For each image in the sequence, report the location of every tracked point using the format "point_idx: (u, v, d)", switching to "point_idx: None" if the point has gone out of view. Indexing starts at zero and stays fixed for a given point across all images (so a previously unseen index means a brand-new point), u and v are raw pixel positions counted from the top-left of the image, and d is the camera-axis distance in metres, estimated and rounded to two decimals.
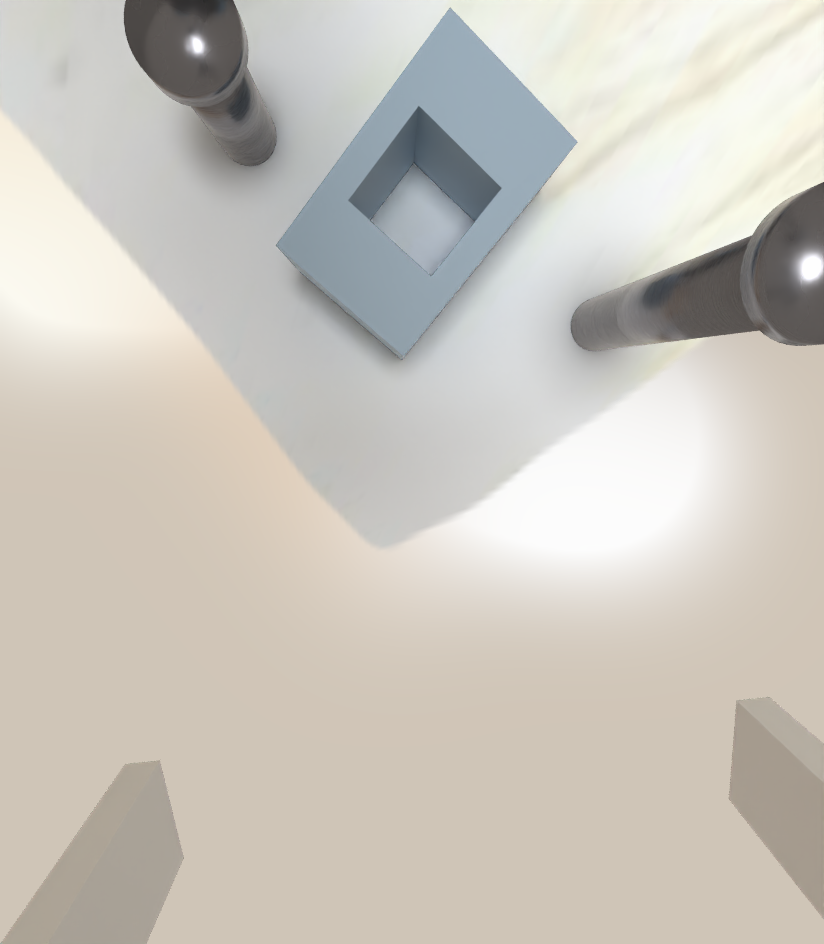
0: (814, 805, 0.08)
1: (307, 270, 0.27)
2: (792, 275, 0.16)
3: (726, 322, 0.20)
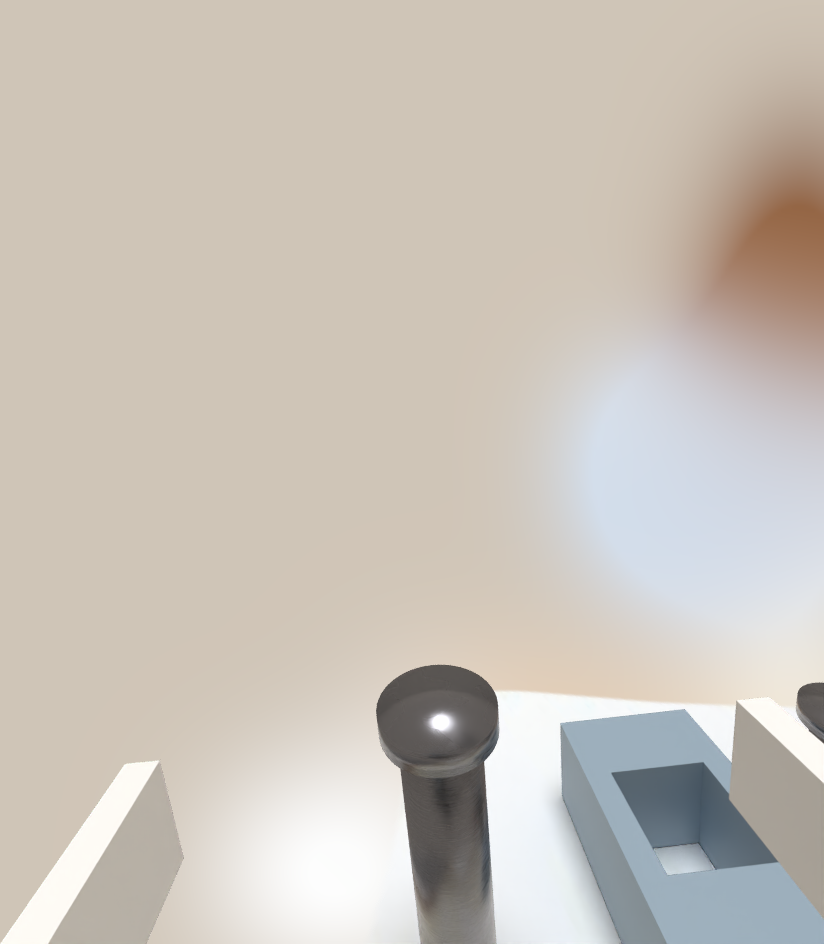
0: (814, 806, 0.08)
1: (657, 713, 0.36)
2: (454, 679, 0.22)
3: None
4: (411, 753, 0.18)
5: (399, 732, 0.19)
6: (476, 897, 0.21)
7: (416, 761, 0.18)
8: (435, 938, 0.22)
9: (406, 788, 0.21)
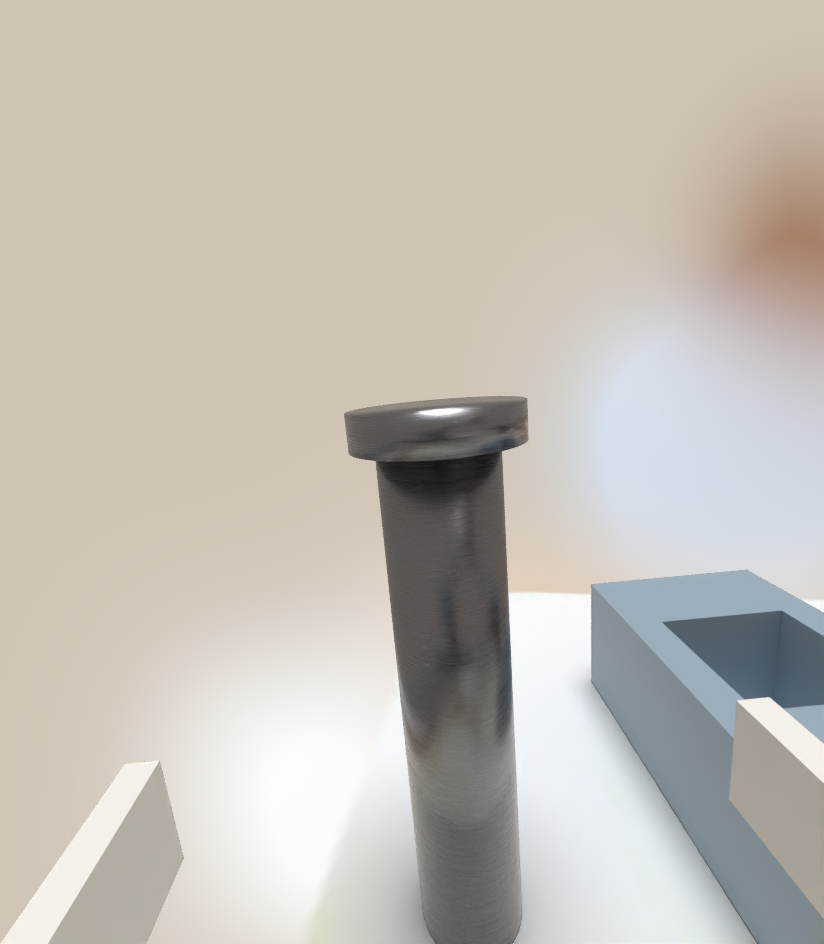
0: (814, 805, 0.08)
1: (712, 573, 0.28)
2: (461, 399, 0.15)
3: None
4: (392, 422, 0.12)
5: (376, 414, 0.12)
6: (491, 698, 0.14)
7: (400, 434, 0.12)
8: (430, 765, 0.15)
9: (388, 525, 0.14)
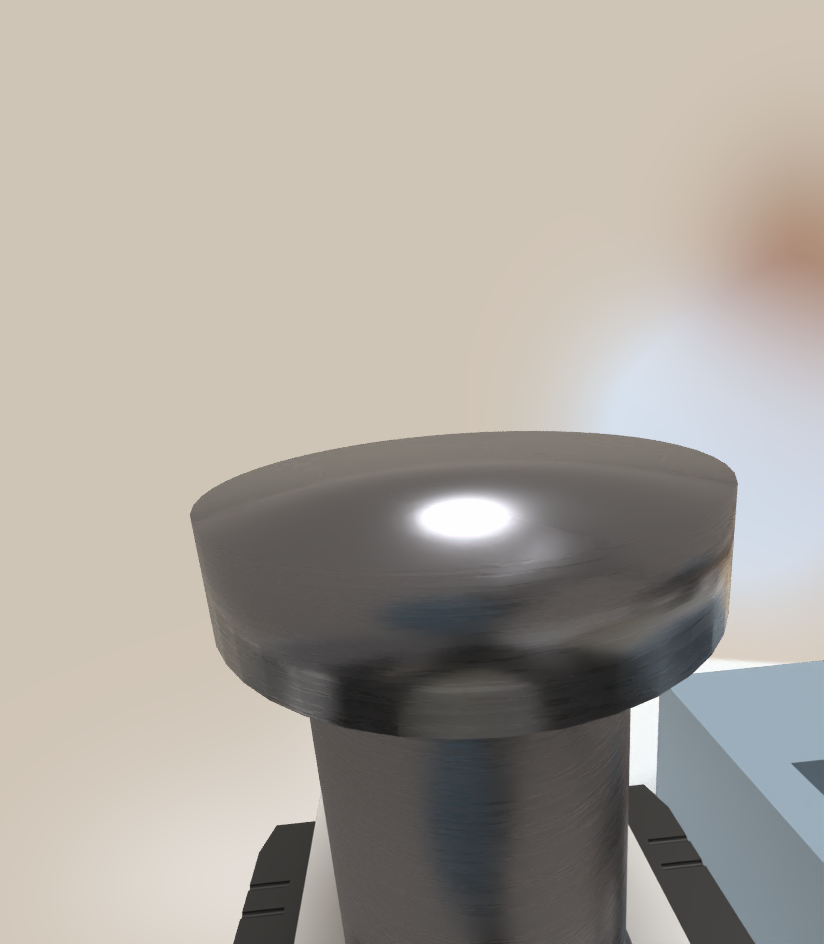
0: None
1: None
2: (505, 441, 0.07)
3: None
4: (299, 585, 0.03)
5: (266, 519, 0.04)
6: None
7: (329, 633, 0.03)
8: None
9: (326, 795, 0.05)
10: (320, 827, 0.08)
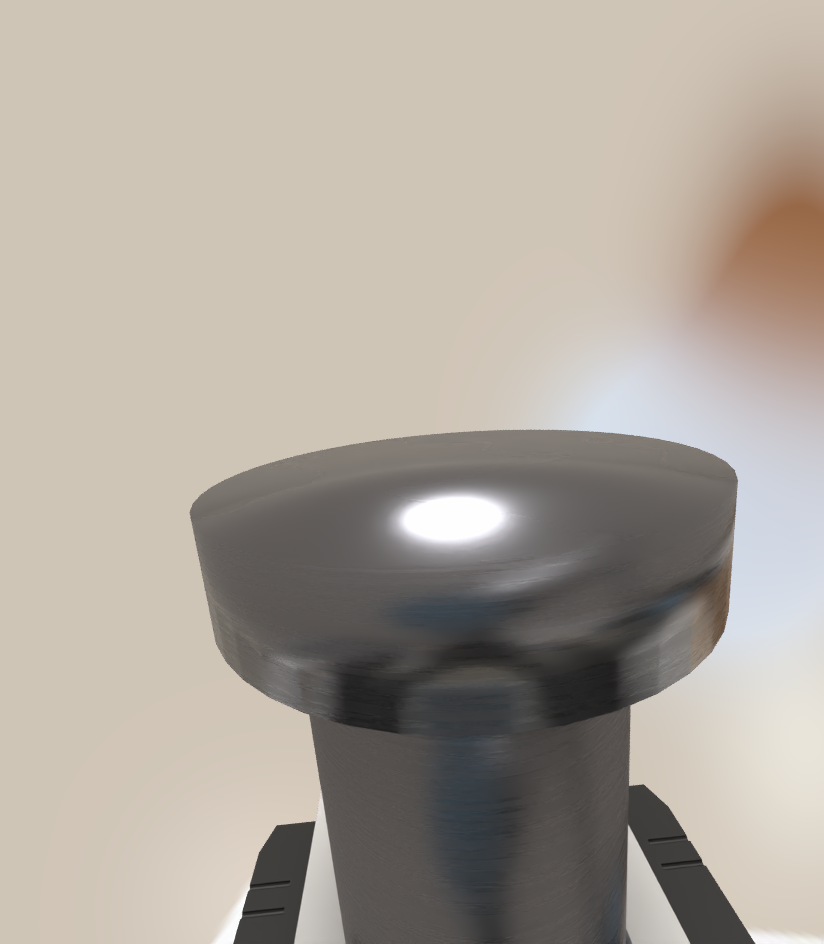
0: None
1: None
2: (505, 439, 0.07)
3: None
4: (299, 582, 0.03)
5: (266, 517, 0.04)
6: None
7: (329, 630, 0.03)
8: None
9: (327, 792, 0.05)
10: (320, 827, 0.08)
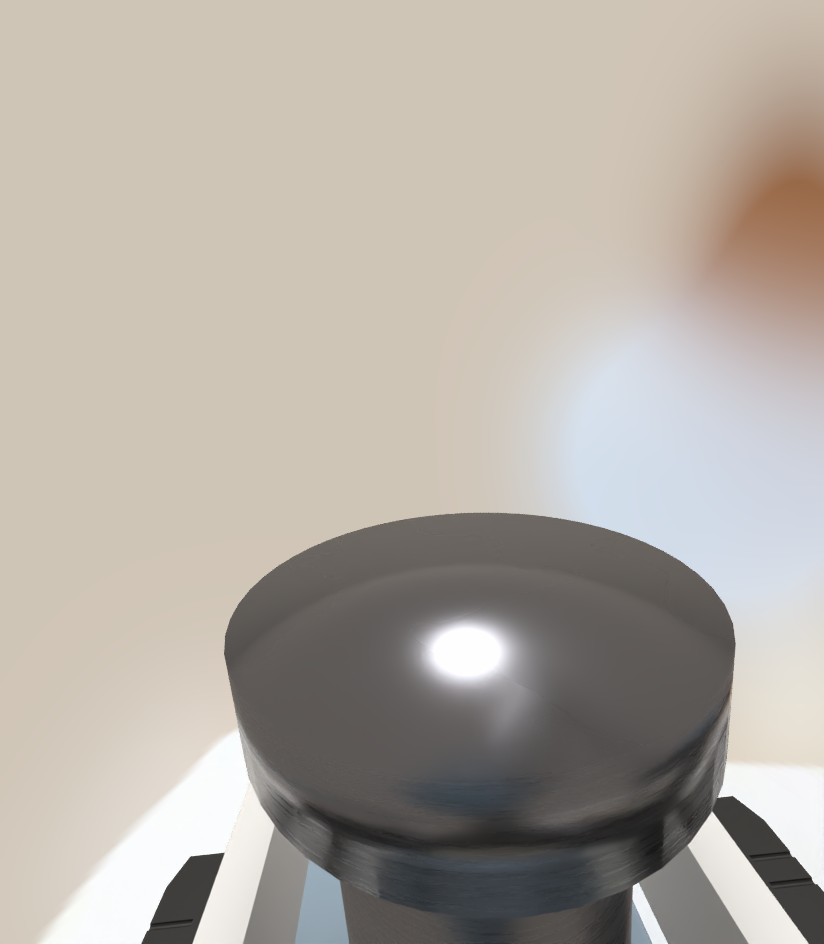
0: None
1: None
2: (513, 533, 0.07)
3: None
4: (337, 773, 0.03)
5: (298, 671, 0.04)
6: None
7: (364, 819, 0.03)
8: None
9: (347, 897, 0.05)
10: (227, 862, 0.08)
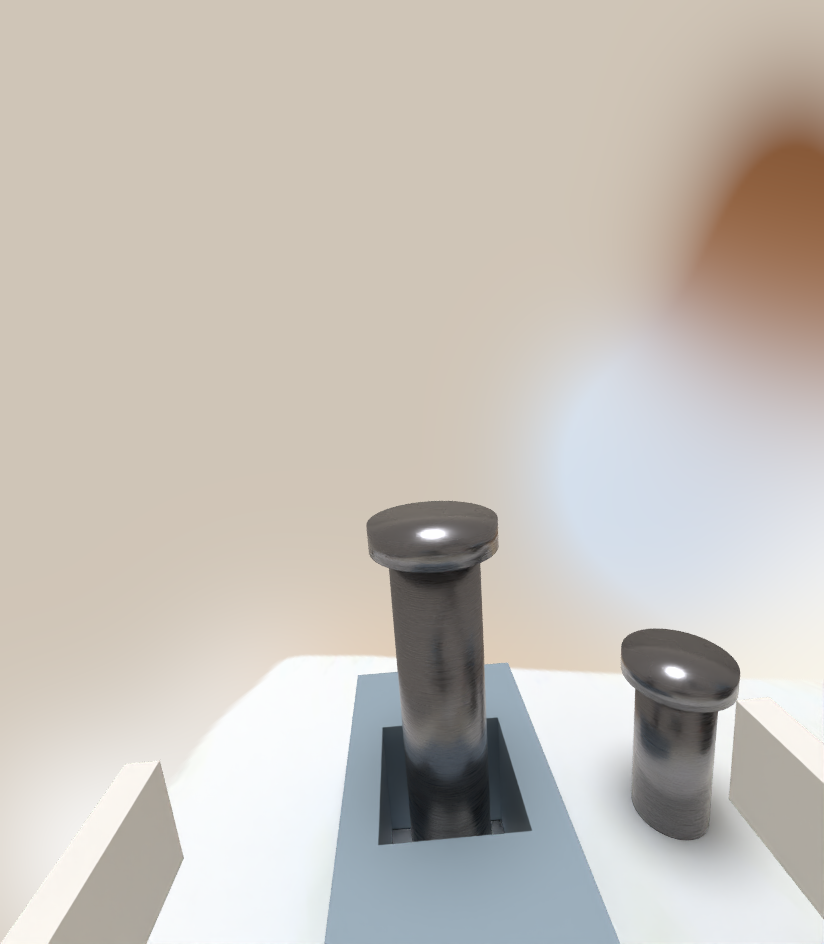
0: (814, 806, 0.08)
1: None
2: (451, 507, 0.21)
3: None
4: (403, 545, 0.17)
5: (390, 533, 0.18)
6: (470, 732, 0.20)
7: (408, 554, 0.17)
8: (424, 781, 0.20)
9: (397, 606, 0.19)
10: None
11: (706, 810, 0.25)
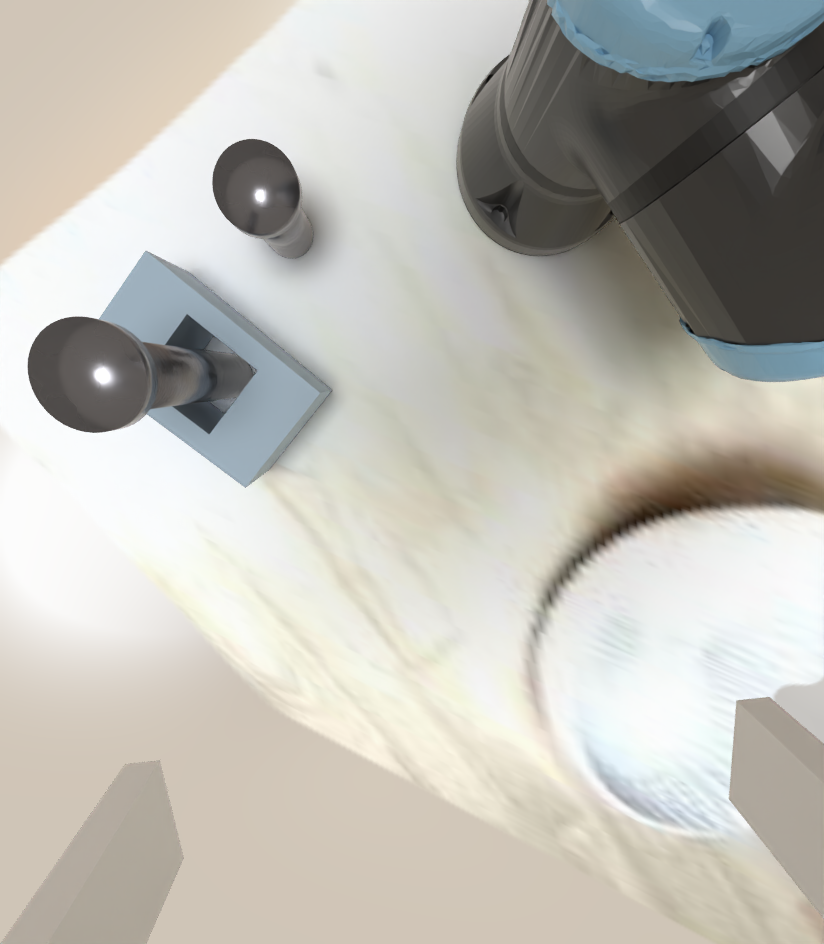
0: (814, 806, 0.08)
1: (129, 276, 0.33)
2: (71, 338, 0.22)
3: None
4: (118, 427, 0.23)
5: (94, 422, 0.23)
6: (205, 381, 0.31)
7: (125, 425, 0.23)
8: None
9: None
10: None
11: (309, 232, 0.38)
